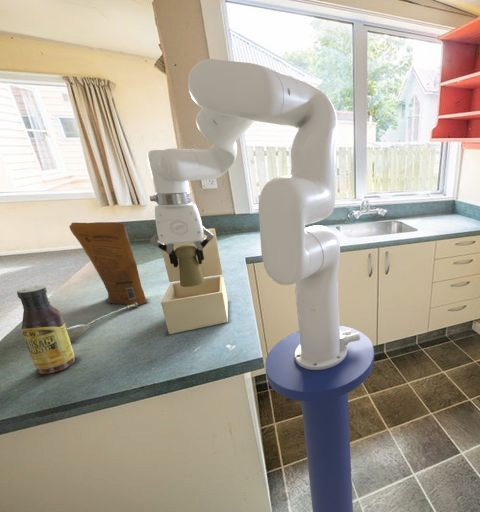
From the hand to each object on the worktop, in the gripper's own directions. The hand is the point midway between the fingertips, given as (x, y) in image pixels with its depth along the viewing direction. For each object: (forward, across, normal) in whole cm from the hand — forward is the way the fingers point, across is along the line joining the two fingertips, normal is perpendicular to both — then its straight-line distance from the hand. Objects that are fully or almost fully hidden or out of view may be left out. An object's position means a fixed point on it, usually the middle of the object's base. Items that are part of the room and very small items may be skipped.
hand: (188, 263), depth 83 cm
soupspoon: (+18, -26, +10) cm, 34 cm away
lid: (0, 0, +9) cm, 9 cm away
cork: (+6, 0, 0) cm, 6 cm away
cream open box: (+18, 0, +2) cm, 18 cm away
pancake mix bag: (+18, -24, +26) cm, 40 cm away
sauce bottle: (+18, -28, -10) cm, 35 cm away
